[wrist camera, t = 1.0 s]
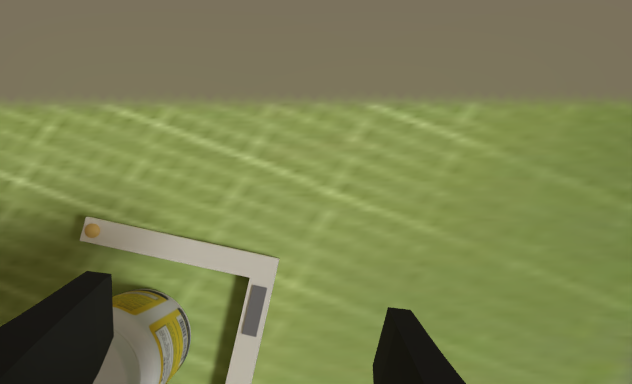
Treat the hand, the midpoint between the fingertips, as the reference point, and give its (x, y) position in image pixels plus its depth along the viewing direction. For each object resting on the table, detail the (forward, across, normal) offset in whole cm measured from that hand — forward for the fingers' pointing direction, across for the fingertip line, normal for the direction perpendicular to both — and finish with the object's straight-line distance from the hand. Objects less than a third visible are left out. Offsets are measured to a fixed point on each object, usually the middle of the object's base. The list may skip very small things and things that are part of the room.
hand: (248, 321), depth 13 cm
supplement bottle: (+9, +6, +9) cm, 14 cm away
